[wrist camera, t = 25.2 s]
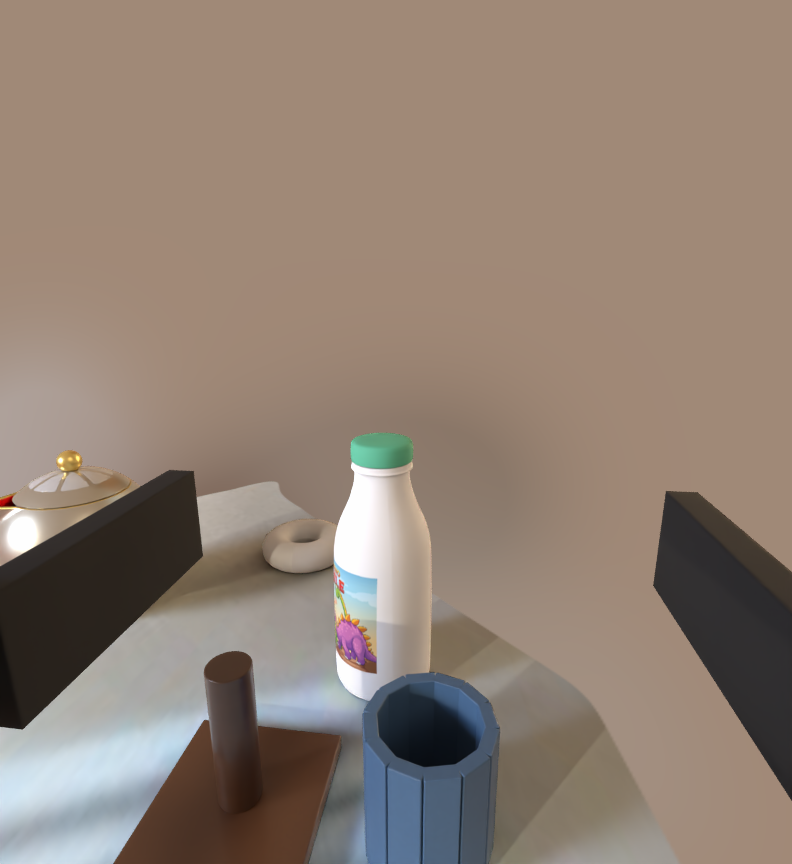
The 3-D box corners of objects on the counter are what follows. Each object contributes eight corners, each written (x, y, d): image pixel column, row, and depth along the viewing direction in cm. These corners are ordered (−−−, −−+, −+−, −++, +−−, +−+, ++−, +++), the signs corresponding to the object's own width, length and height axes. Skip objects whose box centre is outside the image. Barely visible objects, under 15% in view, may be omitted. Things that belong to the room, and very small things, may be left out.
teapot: (-1, 676, 42) (-44, 488, 38) (2, 600, 53) (-31, 447, 49) (220, 603, 52) (205, 448, 48) (185, 551, 63) (170, 421, 59)
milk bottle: (417, 635, 47) (419, 424, 42) (441, 697, 40) (448, 450, 35) (332, 647, 45) (325, 428, 40) (342, 713, 38) (333, 457, 33)
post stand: (341, 746, 35) (337, 619, 33) (294, 913, 26) (282, 751, 23) (205, 731, 37) (191, 607, 34) (111, 883, 27) (82, 727, 25)
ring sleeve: (504, 804, 31) (510, 694, 29) (471, 933, 25) (477, 803, 23) (396, 762, 34) (396, 659, 32) (342, 869, 28) (338, 748, 26)
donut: (342, 536, 67) (264, 541, 65) (342, 512, 66) (263, 516, 64) (351, 575, 58) (260, 583, 56) (351, 547, 57) (258, 554, 55)
